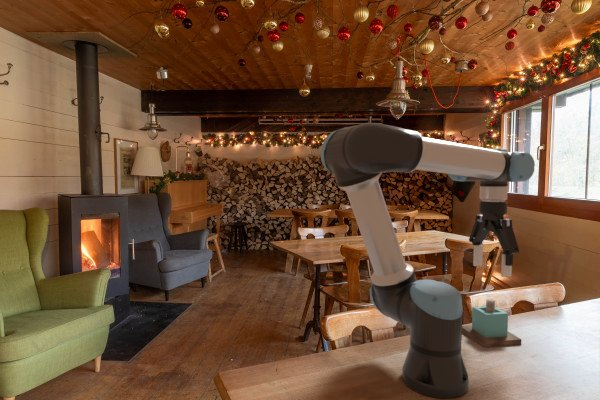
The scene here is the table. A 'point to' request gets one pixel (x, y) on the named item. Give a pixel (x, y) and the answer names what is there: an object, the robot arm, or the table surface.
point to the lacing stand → (492, 341)
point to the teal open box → (490, 322)
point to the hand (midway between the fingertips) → (491, 270)
